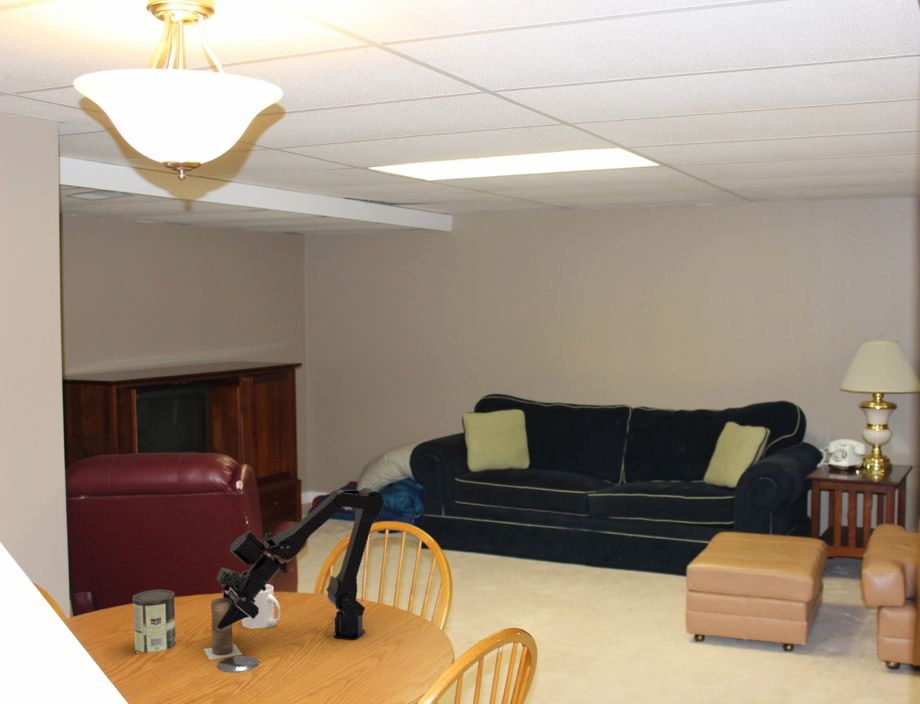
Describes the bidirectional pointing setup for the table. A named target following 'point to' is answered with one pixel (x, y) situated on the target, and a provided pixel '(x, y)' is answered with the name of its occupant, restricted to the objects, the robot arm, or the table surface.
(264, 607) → the mug
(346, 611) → the robot arm
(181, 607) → the table surface
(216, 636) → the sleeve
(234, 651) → the stand
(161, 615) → the coffee can
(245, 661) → the grey saucer
